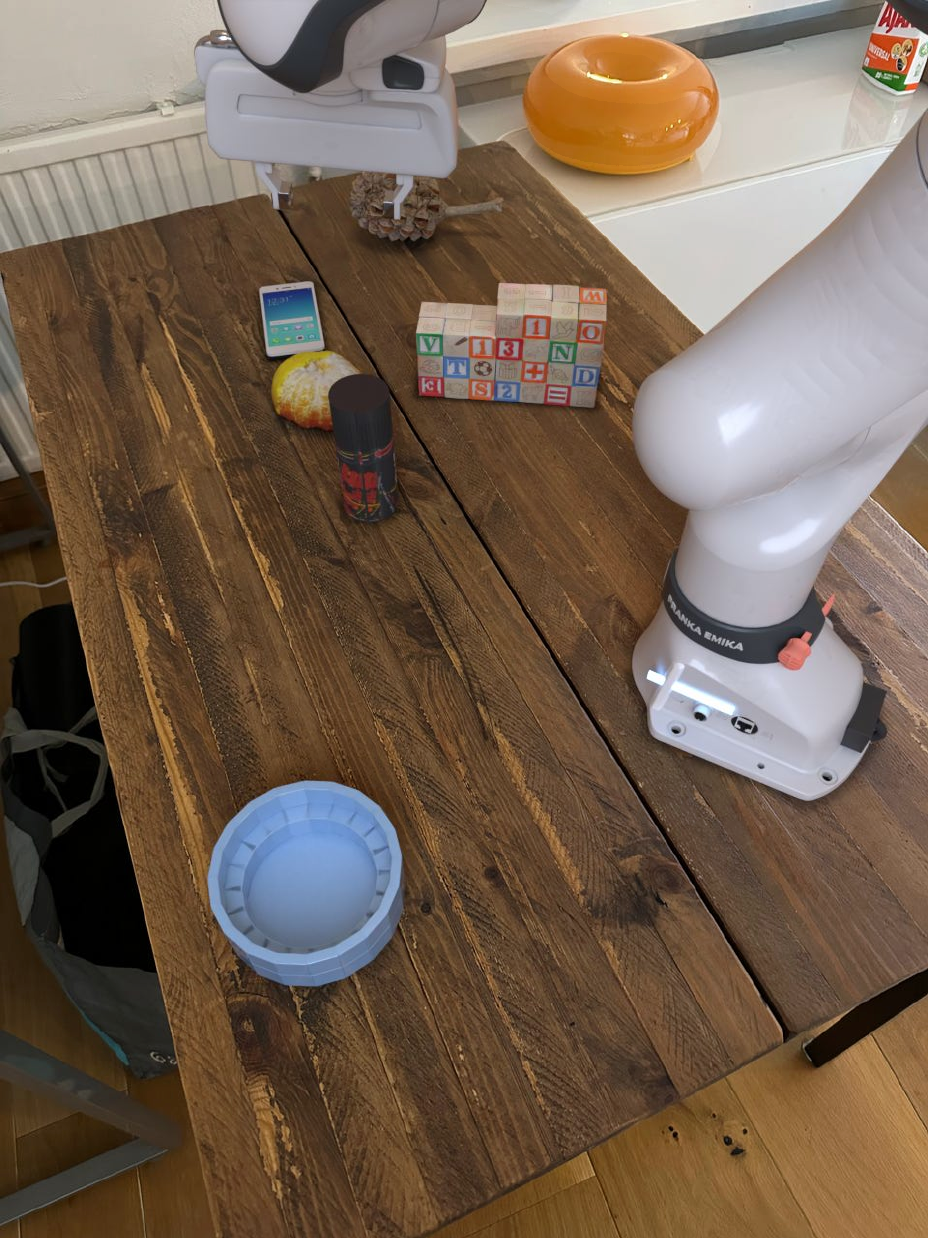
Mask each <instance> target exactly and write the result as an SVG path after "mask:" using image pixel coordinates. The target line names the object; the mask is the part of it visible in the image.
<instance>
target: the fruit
mask: <svg viewBox="0 0 928 1238" xmlns="http://www.w3.org/2000/svg"><path fill="white" fill-rule="evenodd" d="M354 374H363V373H362V371H360V370H359V369H358V367H355V366H354V365H353V364H352V363H351V361H350V360H348V359H347V358H345V357H344V356H343V355H341V354H339V353H337V352H335V351H331V350H325V351H320V352H310V351H306V352H301V353H297V354H296V355H294V356H292V357H290V358H286V360H284V361H283V362H282V363H281V364H280V365H279V366H278V368H277V369H276V370H275V372H274V375H273V378H272V381H271V390H270V392H271V393H270V395H271V401H272V404H273V407H274V410H275V412H276V414H277V415H278V416H279V417H282V418H285V419H286V420H288V421H291V422H293V423H295V424H297V425H298V426H299V427H300V428H303V429H312V428H319V429H321V430H324V431H327V432H328V431H331V432H332V431H333V426H332V419H331V412H330V406H329V399H328V392H329V390H330V388H331V386H332V385H333V384H334V383H335V382H336V381H338V380H339V379H341V378H343V377H346V376H349V375H354Z"/></svg>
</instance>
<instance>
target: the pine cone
mask: <svg viewBox="0 0 928 1238" xmlns="http://www.w3.org/2000/svg"><path fill="white" fill-rule="evenodd" d="M351 185H352V186H351V187H352V190H351V191H350V196H349V202H348V204H349V205H350V207H349V210H350V213H351V217H352V218H353V219H355V220H357V219H358V221H357V223H358V225H359V227H360V228H362V229H365V230H368V231H369V233H370V234H373V235H377V236H378V237H379V239H383V238H387V237H388V238H389V240H390V241H391V242H394V241H397V240H400V241H401V242H404V241H405V240H406V239H407V238H410V240H411V241H413V242H415V241H416V240H418V239H419V238H423V239H425V240H428V239H429V238H430V237H432V235H433V234H434V233H435V229H436V227H437V225H439V224H440V223H441V222H442V221H444V220H445V218H452V217H459V216H470V215H476V214H485V213H491V212H501V213H502V212H503V211H502V207H503V205H504V203H506V204H508V202H507V201H505V199H504V197H499V196H498V195H497V196H496V197H495V198H494V199H491V200H489V201H484V202H480V203H475V204H466V205H455V206H453V205H452V206H450V205H449V204H448V203H446V201H444V200H443V199H442V197H441V194H440V189H439V183H438V182H437V180H436V178H431V177H423V176H414V182H413V187H412V188H411V190H410V191H409V193H408V194H407V196H406V197H405V199H404V200H403V202H402V212H401V219H400V220H394V219H384V218H383V212H384V209H383V199H384V194H385V190H389V191H395V189H396V187H397V186H398V184H397V183H396V174H389V173H377V172H366V171H361V175H360V174H359V175H357V176H356V179H354V180H353V181H352V182H351Z"/></svg>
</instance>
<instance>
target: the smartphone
mask: <svg viewBox="0 0 928 1238" xmlns="http://www.w3.org/2000/svg"><path fill="white" fill-rule="evenodd" d="M258 290H259V292H258V293H259V300H260V301H259V307H260V314H261V316H262V317H261V318H262V327H263V334H264V335H263V336H264V343H265V351H266V357H267V359H268V360H272V361H274V360H281V359H282V360H283V359H289V358H290V357H292V356H294V355H296V354H297V353H301V352H306V351H310V352H320V351H326V347H325V340H324V336H323V330H322V325H321V319H320V313H319V308H318V307H319V304H318V303H319V302H318V300H317V296H316V290H315V285H314V282H313V281H309V280H308V281H298V282H291V283H283V284H274V285H265V286H261V287H260V288H259V289H258Z"/></svg>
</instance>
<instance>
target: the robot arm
mask: <svg viewBox="0 0 928 1238" xmlns="http://www.w3.org/2000/svg"><path fill="white" fill-rule="evenodd" d="M216 2H217V7H218V10H219V13H220V17H221V19H222V22H223V25H224V27H225V29H212V30H210V32H209V34H207V35H204V36H202V37H200V38H199V39H198V40H197V42H196V43H195V45H194V49H193V58H194V62H195V63H194V64H195V69H196V74H197V75H196V76H197V77H198V80H199V82H200V84H201V85H202V86H203V87H204V89H205V90H204V117H205V131H206V139H207V144H208V147H209V148H210V149H211V151H212V152H213V153H214V154H215V155H216V156H217V157H218V158H219V159H222V160H230V161H242V162H252V163H254V168H255V174H256V175H257V176H258V177H259V179H260V180H261V182H262V183H263V185H264V186H265V187H266V188H267V190H268V191H269V192H270V193H271V199H272V207H273V209H274V210H280V211H292V209H293V205H294V201H295V200H294V193H293V191H294V188H293V182H292V181H287V180H286V181H285V180H283V179H282V177H281V176H280V174H279V172H278V171H277V169H276V168H275V165H288V166H299V167H310V168H322V169H323V168H324V169H331V170H332V169H333V170H343V171H344V170H345V171H356V172H362V171H366V172H377V173H389V174H396V183H397V184H398V186H397V187H396V189H395V191H389V190H385V194H384V199H383V209H384V212H383V218H384V219H394V220H400V219H401V212H402V202H403V200H404V199H405V197H406V196H407V194H408V193H409V191H410V190H411V188H412V187H413V182H414V176H423V177H428V178H433V179H446V178H448V177H449V176H450V175H451V174H452V173H453V172H454V170H455V169H456V168H457V163H458V155H459V139H460V138H459V137H460V135H459V112H458V111H459V110H458V102H457V93H456V87H455V83H454V80H453V78H452V76H451V73H450V72H449V71H448V69H447V68H446V64H447V52H448V51H447V39H446V35H448V34H452V33H454V32H456V31H459V30H460V29H461V28H463V27H465V26H467V25H469V24H472V23H473V22H474V21H475V20H477V18H478V17H479V16H480V14H482V11H483V10H484V8H485V6H486V3H487V2H488V0H216ZM885 2H886V3H887V4H888V5H889V6H890V7H891V8H892V9H893V11H895V12H896V13H897V14H898V15H899V16H900V17H902V19H904V20H905V21H906V22H907V23H909V25H911V26H912V27H914V28H915V29H917V30H918V31H919V32H921V33H923V34H924V35H926V36H928V0H885ZM209 42H210V43H209ZM899 141H900V142H898V144H897V145H896V146H895V147H894V149H893V150H892V151H891V152H890V154H889V155H888V156H887V157H886V158H885V160H884V161H883V162H881V164H880V166H879V167H877V170H875V172H874V173H873V174H872V176H871V177H870V178H869V179H868V180H867V181H866V183H865V184H864V185H863V186H862V188H860V190H859V191H858V192H857V194H856V195H855V196H854V197H853V198H852V200H851V201H850V202H849V203H848V204H847V206H846V207H845V208H843V210H842V211H841V212H840V213H839V214H838V216H836V218H834V220H832V222H830V223H829V224H828V225H827V226H826V227H825V228H824V229H823V230H822V231H821V232H820V233H819V234H818V235H817V236H816V237H814V238H813V239H812V240H811V241H810V242H809V243H807V244H806V245H805V246H804V247H803V248H802V249H801V250H799V251H798V252H797V253H796V254H794V256H792V257H791V258H789V260H787V261H786V262H785V263H784V264H783V265H781V266H780V267H779V268H778V269H777V270H775V271H774V272H773V273H772V274H771V275H770V276H769V277H768V278H766V279H765V280H764V281H763V282H762V283H761V284H760V285H758V286H757V287H756V288H755V289H754V290H753V291H752V292H751V293H750V294H749V295H747V296H746V297H745V298H744V299H743V300H742V301H741V302H740V303H739V304H737V305H736V307H734V308H733V309H732V310H731V311H730V312H729V313H728V314H727V315H725V316H724V317H723V318H722V319H721V320H720V321H719V322H717V324H715V325H714V326H712V328H711V329H709V330H708V331H707V332H706V333H704V335H702V336H701V337H700V338H698V340H696V341H695V342H693V343H692V344H691V345H690V346H688V347H687V348H685V349H684V350H682V351H681V352H680V353H678V354H677V355H675V356H674V357H673V358H671V359H669V361H667V362H666V363H664V364H663V365H661V366H660V367H658V368H657V369H656V370H655V371H653V372H652V373H650V374H649V375H648V376H647V377H646V378H644V380H643V382H642V383H641V385H640V387H639V388H638V391H637V394H636V398H635V399H634V405H633V410H632V418H631V433H632V443H633V447H634V451H635V454H636V457H637V459H638V463H639V464H640V466H641V469H642V470H643V472H644V474H645V475H646V477H647V478H648V479H649V481H650V482H651V483H652V485H654V487H655V488H656V489H657V490H658V491H659V492H660V493H661V494H663V496H665V497H666V498H668V500H670V501H672V502H673V503H676V504H677V505H679V506H680V507H682V508H684V509H686V510H688V512H687V516H686V519H685V523H684V526H683V527H684V528H683V530H682V533H681V539H680V542H679V545H678V547H677V548H676V549H674V550H673V553H672V555H671V557H670V558H669V561H668V564H667V566H666V570H665V573H664V577H663V580H662V584H663V585H662V590H661V594H660V595H661V600H662V601H661V603H660V606H659V608H658V610H657V612H656V614H655V616H654V617H653V619H652V620H651V622H650V624H649V625H648V627H647V628H645V629H644V631H643V632H642V634H640V635H639V638H638V639H637V641H636V643H635V645H634V648H633V653H632V658H631V669H632V675H633V680H634V683H635V685H636V687H637V689H638V692H639V693H640V695H641V697H642V699H643V702H644V703H645V706H646V720H647V721H646V722H647V729H648V732H649V733H650V735H651V736H652V737H653V738H655V739H656V740H658V741H660V742H662V743H664V744H667V745H670V746H672V747H674V748H677V749H679V750H681V751H684V752H686V753H688V754H691V755H693V756H696V757H698V758H701V759H703V760H705V761H707V762H710V763H713V764H715V765H717V766H719V767H722V768H724V769H726V770H729V771H731V772H734V773H736V774H739V775H741V776H743V777H746V778H748V779H750V780H753V781H755V782H757V783H760V784H763V785H765V786H767V787H770V788H772V789H775V790H777V791H779V792H782V793H784V794H787V795H789V796H791V797H794V798H796V799H799V800H802V801H806V802H811V801H814V800H818V799H820V798H823V797H824V796H826V795H828V794H830V793H832V792H833V791H835V790H836V789H837V788H839V787H840V786H841V785H842V784H843V783H844V782H845V781H846V780H847V779H848V778H849V777H850V776H851V775H852V773H853V772H854V770H855V769H856V768H857V766H858V765H859V763H860V762H861V761H862V758H863V757H864V755H865V754H866V752H867V749H868V748H869V746H870V743H871V742H876V741H881V740H883V739H885V738H886V737H887V736H888V735H887V734H888V728H887V726H886V725H885V723H884V722H883V721H882V720H881V719H880V718H879V717H880V714H881V710H882V707H883V704H884V701H885V699H886V695H887V692H888V691H887V690H885V689H882V688H881V687H878V686H876V685H873V684H870V683H868V682H865V681H864V669H863V666H862V663H861V661H860V659H859V658H858V656H857V655H856V654H855V653H854V652H853V650H851V648H849V646H848V645H847V644H846V642H845V641H843V639H842V638H841V637H840V636H839V635H838V634H837V633H836V631H835V630H834V624H833V622H832V621H831V619H829V617H827V616H828V614H829V612H830V611H831V609H832V608H833V605H834V601H835V597H836V594H835V593H832V594H831V595H830V597H829V598H828V599H827V601H826V602H825V604H824V605H823V607H822V608H821V605H820V603H819V601H818V599H817V596H816V589H815V588H816V587H815V583H816V580H817V579H818V576H819V574H820V572H821V570H822V568H823V566H824V564H825V562H826V560H827V557H828V556H829V553H830V551H831V549H832V547H833V546H834V544H835V542H836V540H837V538H838V537H839V535H840V534H841V532H842V531H843V529H844V528H845V527H846V526H847V524H848V523H849V521H851V519H852V517H853V516H854V515H855V514H856V513H857V511H858V510H859V509H860V508H861V506H862V505H863V504H864V503H865V502H866V500H868V498H869V497H870V495H871V494H872V493H873V492H874V491H875V489H876V488H877V487H878V485H880V483H881V482H882V481H883V479H884V478H885V477H886V475H888V473H889V472H890V471H891V469H892V468H893V467H894V466H895V464H897V462H898V461H899V459H900V458H901V456H903V454H904V453H905V452H906V450H907V449H908V448H909V446H910V445H911V444H912V443H913V442H914V441H915V440H916V438H918V436H919V435H920V433H922V431H923V430H924V429H925V428H926V427H927V426H928V107H927V108H926V109H925V111H923V113H922V115H921V116H920V117H919V118H918V119H917V121H916V122H915V123H914V124H913V125H912V127H911V128H910V129H909V130H908V131H907V133H906V134H905V135H904V136H903V138H902V139H901V140H899ZM673 730H674V731H676V732H678V733H674V732H673ZM823 777H826V778H827V779H829V780H826V779H824V778H823Z"/></svg>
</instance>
